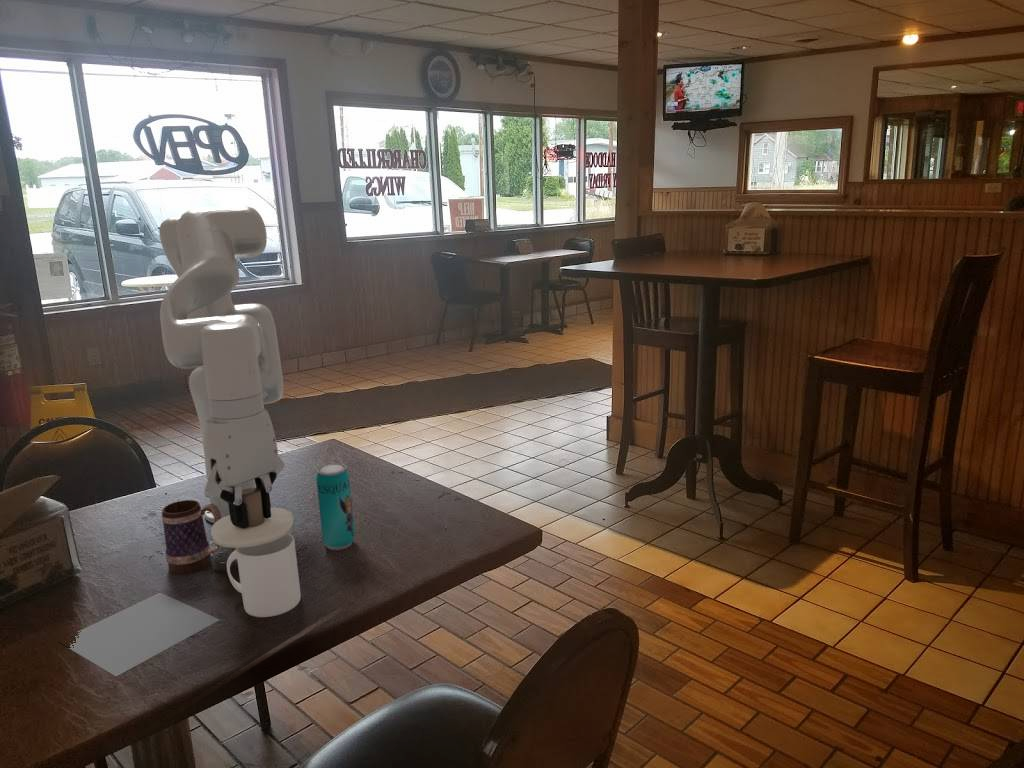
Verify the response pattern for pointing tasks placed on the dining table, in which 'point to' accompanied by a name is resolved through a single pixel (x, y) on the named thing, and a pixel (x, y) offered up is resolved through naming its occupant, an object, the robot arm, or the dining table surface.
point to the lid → (253, 524)
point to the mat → (139, 633)
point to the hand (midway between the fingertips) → (251, 520)
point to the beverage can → (335, 506)
